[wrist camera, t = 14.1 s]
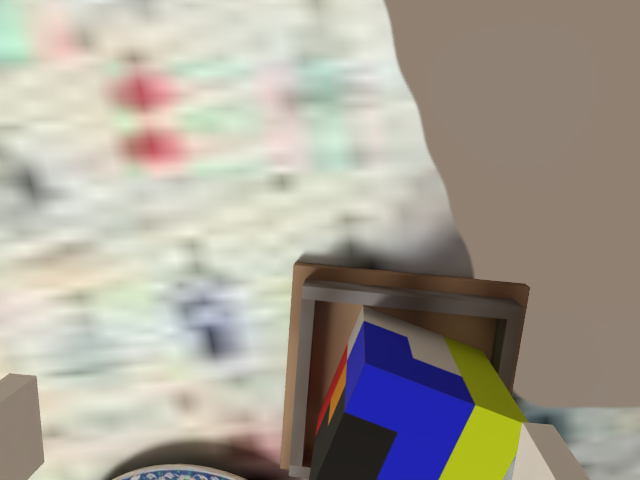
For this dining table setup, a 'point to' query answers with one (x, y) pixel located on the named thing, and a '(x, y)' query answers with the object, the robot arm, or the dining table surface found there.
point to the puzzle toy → (413, 409)
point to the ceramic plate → (178, 473)
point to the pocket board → (397, 301)
